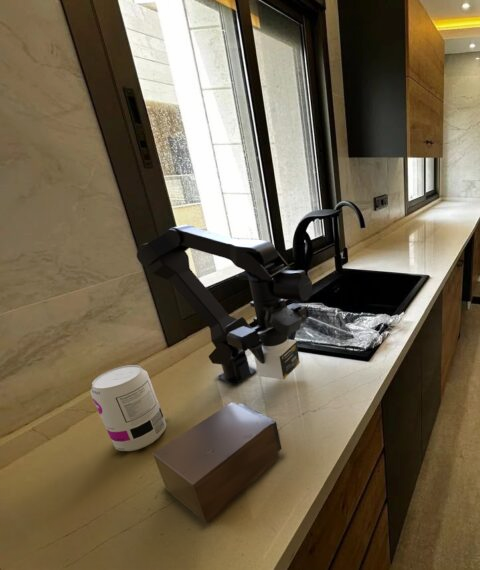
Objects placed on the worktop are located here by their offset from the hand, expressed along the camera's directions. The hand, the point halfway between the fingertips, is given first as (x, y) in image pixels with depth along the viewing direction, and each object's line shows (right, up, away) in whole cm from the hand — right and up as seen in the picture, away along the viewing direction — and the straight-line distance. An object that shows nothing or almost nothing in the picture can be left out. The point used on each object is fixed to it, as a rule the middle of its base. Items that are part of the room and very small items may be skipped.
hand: (277, 354), depth 81 cm
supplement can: (-21, -14, -14) cm, 29 cm away
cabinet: (+1, -17, -22) cm, 28 cm away
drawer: (+2, -15, -20) cm, 25 cm away
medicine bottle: (0, -4, +2) cm, 5 cm away
